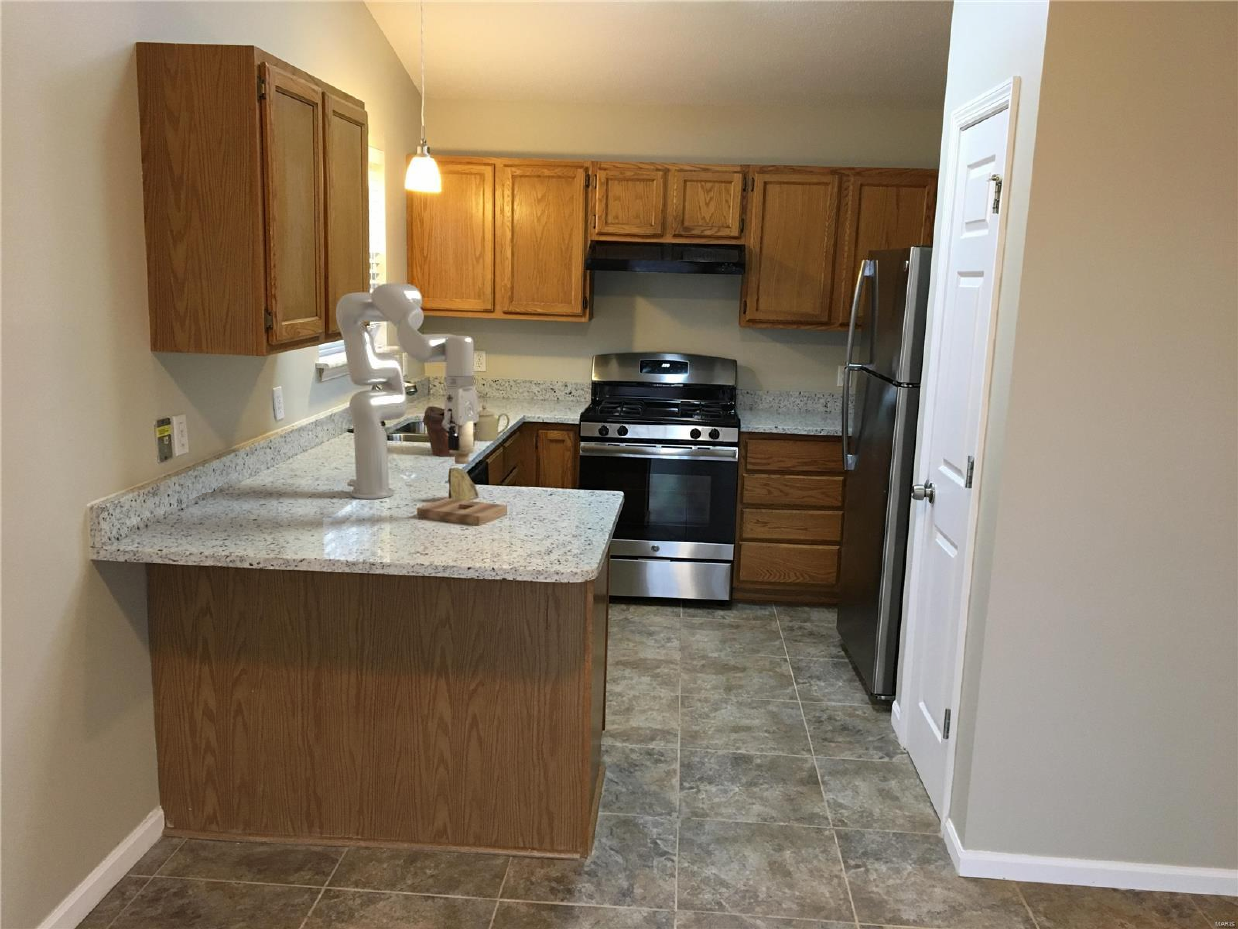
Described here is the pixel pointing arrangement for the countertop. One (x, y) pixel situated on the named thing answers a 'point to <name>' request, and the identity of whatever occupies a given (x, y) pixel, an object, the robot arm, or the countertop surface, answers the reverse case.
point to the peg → (464, 443)
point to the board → (462, 511)
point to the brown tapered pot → (437, 431)
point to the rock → (461, 485)
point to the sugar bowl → (488, 426)
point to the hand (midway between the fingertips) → (461, 447)
